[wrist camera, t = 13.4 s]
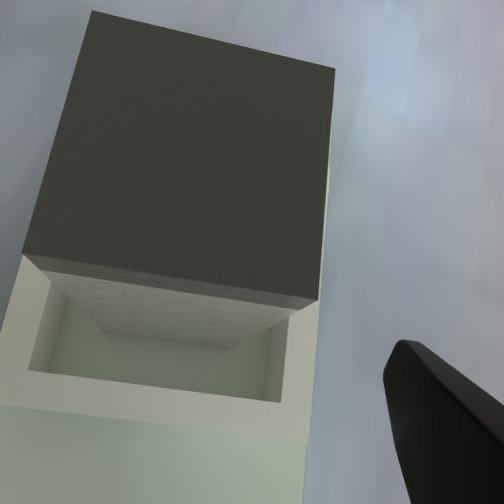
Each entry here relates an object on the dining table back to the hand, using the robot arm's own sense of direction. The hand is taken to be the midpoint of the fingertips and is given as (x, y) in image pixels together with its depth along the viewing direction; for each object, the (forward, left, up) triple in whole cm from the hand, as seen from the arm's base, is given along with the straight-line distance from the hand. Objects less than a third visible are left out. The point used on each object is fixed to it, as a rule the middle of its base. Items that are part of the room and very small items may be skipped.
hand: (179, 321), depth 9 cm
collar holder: (+2, 0, -8) cm, 9 cm away
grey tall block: (+3, 0, -8) cm, 8 cm away
